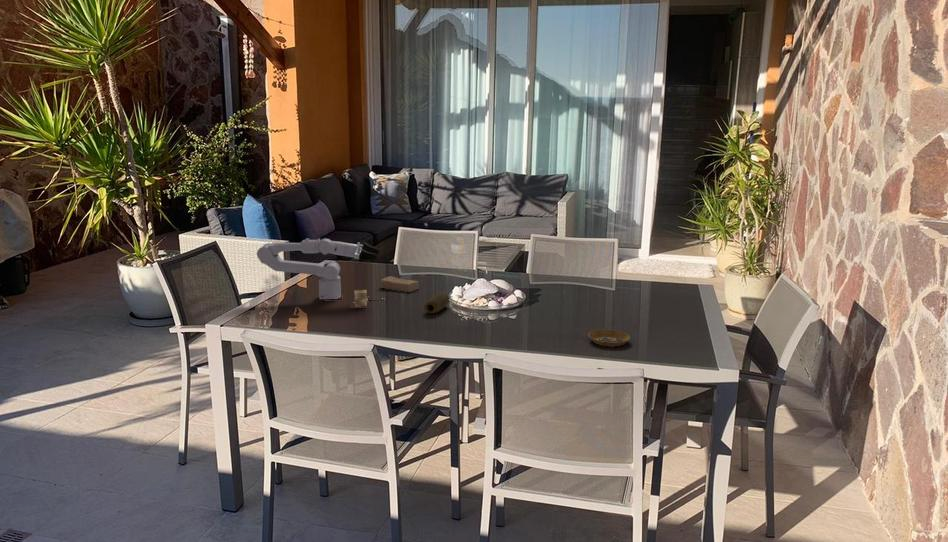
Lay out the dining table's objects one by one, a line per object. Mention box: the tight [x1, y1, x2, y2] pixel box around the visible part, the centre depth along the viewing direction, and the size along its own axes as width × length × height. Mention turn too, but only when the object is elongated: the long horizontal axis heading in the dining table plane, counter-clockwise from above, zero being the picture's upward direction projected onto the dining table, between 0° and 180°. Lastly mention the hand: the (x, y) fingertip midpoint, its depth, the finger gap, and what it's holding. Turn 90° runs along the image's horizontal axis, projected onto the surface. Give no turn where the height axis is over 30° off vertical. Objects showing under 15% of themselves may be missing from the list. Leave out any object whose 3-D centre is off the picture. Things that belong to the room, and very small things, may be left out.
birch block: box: [354, 289, 368, 307], centre depth 307 cm, size 5×5×6 cm
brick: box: [379, 276, 420, 293], centre depth 337 cm, size 17×8×5 cm, turn 62°
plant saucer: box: [588, 329, 631, 348], centre depth 265 cm, size 15×15×3 cm
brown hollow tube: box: [423, 291, 450, 314], centre depth 302 cm, size 15×7×7 cm, turn 165°
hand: (378, 254), depth 316 cm, fingers open, 7 cm apart
